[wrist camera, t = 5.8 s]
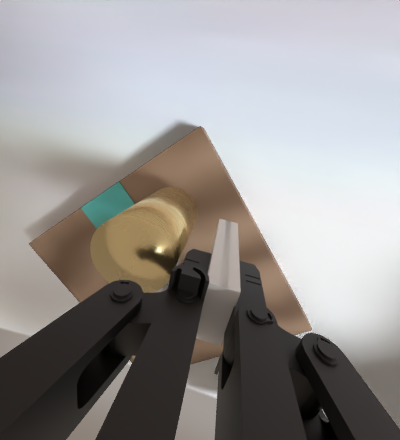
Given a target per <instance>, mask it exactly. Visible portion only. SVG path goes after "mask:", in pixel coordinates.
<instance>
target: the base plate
mask: <svg viewBox="0 0 400 440" xmlns="http://www.w3.org/2000/svg"><path fill="white" fill-rule="evenodd" d="M165 187H176V188H180V189H182V190H184V191H186V192H187V193H188V194H189V195H190V196H191V197H192V198H193V199H194V201H195V203H196V205H197V209H198V218H197V222H196V224H195V226H194V228H193V231H192V233H191V235H190V237H189V239H188V241H187V243H186V246H185V248H184V250H183V253H182V258H181V264H182V263H183V261H184V259H185V256H186V254H187V252H189V251H190V250H192V249H197V250H200V251H204V252H208V253H210V252H211V249H212V245H213V241H214V238H215V234H216V230H217V227H218V223H219V219H223V220H227V221H231V222H235V223H238V240H239V261H243V262H247V263H250V264H254V265H255V266H256V268H257V269H258V270H259V272H260V277H261V282H262V287H263V292H264V297H265V302H266V307H267V308H268V309H269V310H270V311H271V312H272V313H273V314H274V316H275V318H276V320H277V324H278V326H280V327H281V328H282V329H284V330H285V331H287V332H289V333H291V334H293V335H296V334H300V333H303V332H307V331H310V330H312V328H311V326H310V324H309V322H308V319H307V317H306V315H305V313H304V311H303V309H302V307H301V306H300V304H299V302H298V300H297V298H296V296H295V295H294V293H293V291H292V289H291V287H290V285H289V284H288V282H287V280H286V278H285V276H284V274H283V273H282V271H281V269H280V267H279V265H278V263H277V262H276V260H275V258H274V256H273V254H272V252H271V251H270V249H269V247H268V245H267V243H266V241H265V240H264V238H263V236H262V234H261V232H260V230H259V229H258V227H257V225H256V223H255V221H254V219H253V218H252V216H251V214H250V212H249V210H248V208H247V207H246V205H245V203H244V201H243V199H242V197H241V196H240V194H239V192H238V190H237V188H236V186H235V185H234V183H233V181H232V179H231V177H230V176H229V174H228V172H227V170H226V168H225V166H224V165H223V163H222V161H221V159H220V157H219V155H218V154H217V152H216V150H215V148H214V146H213V144H212V143H211V141H210V139H209V137H208V135H207V133H206V132H205V130H204V128H203V127H201V126H200V127H198V128H197V129H195V130H194V131H192V132H191V133H189V134H188V135H187V136H185V137H184V138H182V139H181V140H179V141H178V142H176V143H175V144H173V145H172V146H170V147H169V148H168V149H166V150H165V151H163V152H162V153H160V154H159V155H157V156H156V157H154V158H153V159H151V160H150V161H149V162H147V163H146V164H144V165H143V166H141V167H140V168H138V169H137V170H135V171H134V172H132V173H131V174H130V175H128V176H127V177H125V178H124V179H122V180H121V181H119V182H118V183H116V184H115V185H113V186H112V187H110V188H109V189H107V190H106V191H104V192H103V193H102V194H100V195H99V196H97V197H96V198H94V199H93V200H91V201H90V202H88V203H87V204H85V205H84V206H83V207H81V208H80V209H78V210H77V211H76V212H74V213H73V214H71V215H70V216H68V217H67V218H65V219H64V220H62V221H61V222H59V223H58V224H57V225H55V226H54V227H52V228H51V229H49V230H48V231H46V232H45V233H43V234H42V235H40V236H39V237H38V238H36V239H35V240H33V241H32V242H30V243H29V245H30V246H31V247H32V248H33V249H34V251H35V252H36V253H37V254H38V255H39V256H40V257H41V259H42V260H43V261H44V262H45V263H46V264H47V266H48V267H49V268H50V269H51V270H52V271H53V272H54V274H55V275H56V276H57V277H58V278H59V279H60V280H61V282H62V283H63V284H64V285H65V286H66V287H67V289H68V290H69V291H70V292H71V293H72V294H73V295H74V297H75V298H76V299H77V300H78V301H79V302H80V303H81V302H82V301H84V300H85V299H87V298H88V297H89V296H91V295H92V294H94V293H95V292H97V291H98V290H100V289H101V288H103V287H104V286H105V285H107V284H109V283H108V282H107V281H106V280H105V279H104V278H103V277H102V276H101V275H100V274H99V272H98V271H97V269H96V267H95V265H94V263H93V261H92V257H91V251H90V245H91V240H92V237H93V234H94V233H95V231H96V230H97V228H98V227H99V226H100V225H102V224H103V223H105V222H106V221H108V220H110V219H111V218H113V217H115V216H116V215H118V214H120V213H121V212H123V211H125V210H126V209H128V208H130V207H131V206H133V205H135V204H136V203H138V202H140V201H141V200H143V199H145V198H146V197H148V196H150V195H151V194H153V193H155V192H156V191H158V190H160V189H162V188H165ZM223 344H224V339H223V341H222V344H221V346H219V345H216V344H213V343H209V342H206V341H203V340H199V339H196V340H195V345H194V350H193V355H192V359H191V364H193V363H197V362H200V361H204V360H207V359H211V358H214V357H218V356H221V353H222V351H223ZM134 358H135V356H132V357H131V359H130V361H131V362H132V363H133V361H134Z"/></svg>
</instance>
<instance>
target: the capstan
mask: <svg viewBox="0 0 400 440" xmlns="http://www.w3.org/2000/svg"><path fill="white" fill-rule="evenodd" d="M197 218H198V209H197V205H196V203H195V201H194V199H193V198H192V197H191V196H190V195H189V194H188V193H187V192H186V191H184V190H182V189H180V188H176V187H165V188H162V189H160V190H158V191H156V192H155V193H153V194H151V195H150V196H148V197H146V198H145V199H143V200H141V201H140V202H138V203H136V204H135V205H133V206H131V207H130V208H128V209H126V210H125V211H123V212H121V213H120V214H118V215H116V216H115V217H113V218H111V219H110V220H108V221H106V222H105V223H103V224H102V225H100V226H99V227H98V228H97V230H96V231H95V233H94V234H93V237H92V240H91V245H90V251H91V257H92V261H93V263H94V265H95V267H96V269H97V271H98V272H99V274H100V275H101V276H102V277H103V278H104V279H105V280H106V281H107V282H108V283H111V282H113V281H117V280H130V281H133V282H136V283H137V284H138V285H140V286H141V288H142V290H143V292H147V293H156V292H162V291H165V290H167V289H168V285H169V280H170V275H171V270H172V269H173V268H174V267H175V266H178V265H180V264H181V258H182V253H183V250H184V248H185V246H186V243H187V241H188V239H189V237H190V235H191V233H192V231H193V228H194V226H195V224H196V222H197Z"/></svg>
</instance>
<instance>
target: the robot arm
mask: <svg viewBox="0 0 400 440" xmlns="http://www.w3.org/2000/svg"><path fill="white" fill-rule="evenodd" d="M196 339H199V340H203V341H206V342H209V343H213V344H216V345H219V346H221V344H222V341H223V339H224V344H223V351H222V353H221V356H220V358H219V361H218V364H217V366H216V370H215V373H214V374H218V371H219V376H218V393H217V410H216V428H215V440H400V429H399V428H398V427H397V425H396V424H395V423H394V421H393V420H392V418H391V417H390V416H389V414H388V413H387V412H386V410H385V409H384V408H383V406H382V405H381V404H380V402H379V401H378V399H377V398H376V397H375V395H374V394H373V393H372V391H371V390H370V389H369V387H368V386H367V384H366V383H365V382H364V380H363V379H362V378H361V376H360V375H359V374H358V372H357V371H356V370H355V368H354V367H353V365H352V364H351V363H350V361H349V360H348V359H347V357H346V356H345V355H344V353H343V352H342V351H341V350H340V349H339V348H338V347H337V346H336V345H335V344H334V343H332V342H331V341H330V340H329V339H327V338H325V337H323V336H321V335H318V334H314V333H308V334H305V335H304V337H303V338H302V339H300V338H298V337H296V336H294V335H293V334H291V333H289V332H287V331H285V330H284V329H282V328H281V327H280V326H278V324H277V320H276V318H275V316H274V314H273V313H272V312H271V311H270V310H269V309H268V308H267V307H266V302H265V297H264V292H263V287H262V282H261V277H260V272H259V270H258V269H257V268H256V266H255V265H254V264H250V263H247V262H243V261H239V240H238V223H235V222H231V221H227V220H223V219H219V223H218V227H217V230H216V234H215V238H214V241H213V245H212V249H211V252H210V253H208V252H204V251H200V250H197V249H192V250H190V251H189V252H187V254H186V256H185V259H184V261H183V263H182V264H180V265H178V266H175V267H174V268H173V269H172V270H171V275H170V280H169V285H168V289H167V290H165V291H162V292H156V293H147V292H143V290H142V288H141V286H140V285H138V284H137V283H136V282H133V281H130V280H117V281H113V282H111V283H109V284H107V285H105V286H104V287H103V288H101V289H100V290H98V291H97V292H95V293H94V294H92V295H91V296H89V297H88V298H87V299H85V300H84V301H82V302H81V303H79V304H78V305H76V306H75V307H73V308H72V309H71V310H69V311H68V312H66V313H65V314H63V315H62V316H60V317H59V318H57V319H56V320H55V321H53V322H52V323H50V324H49V325H47V326H46V327H44V328H43V329H41V330H40V331H39V332H37V333H36V334H34V335H33V336H31V337H30V338H28V339H27V340H26V341H24V342H23V343H21V344H20V345H18V346H17V347H15V348H14V349H12V350H11V351H10V352H8V353H7V354H5V355H4V356H2V357H1V358H0V440H66V439H67V438H68V437H69V435H70V434H71V432H72V431H73V430H74V429H75V428H76V426H77V425H78V424H79V423H80V422H81V420H82V419H83V418H84V417H85V415H86V414H87V413H88V412H89V410H90V409H91V408H92V406H93V405H94V404H95V403H96V401H97V400H98V399H99V398H100V396H101V395H102V394H103V392H104V391H105V390H106V389H107V388H108V386H109V385H110V384H111V382H112V381H113V380H114V379H115V377H116V376H117V375H118V374H119V372H120V371H121V370H122V369H123V368H124V366H125V365H126V364H127V363H128V361H129V360H130V359H131V357H132V356H135V358H134V361H133V363H132V365H131V367H130V369H129V371H128V373H127V375H126V377H125V379H124V381H123V384H122V385H121V388H120V390H119V392H118V394H117V396H116V398H115V400H114V402H113V404H112V406H111V408H110V410H109V412H108V415H107V417H106V419H105V421H104V423H103V425H102V427H101V429H100V431H99V433H98V435H97V437H96V440H174V439H175V434H176V429H177V425H178V420H179V415H180V410H181V406H182V401H183V397H184V392H185V387H186V383H187V378H188V373H189V369H190V364H191V359H192V355H193V350H194V345H195V340H196ZM322 408H323V410H324V412H325V414H326V416H327V418H328V419H327V418H326V416H325V415H324V413H323V411H322Z"/></svg>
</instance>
